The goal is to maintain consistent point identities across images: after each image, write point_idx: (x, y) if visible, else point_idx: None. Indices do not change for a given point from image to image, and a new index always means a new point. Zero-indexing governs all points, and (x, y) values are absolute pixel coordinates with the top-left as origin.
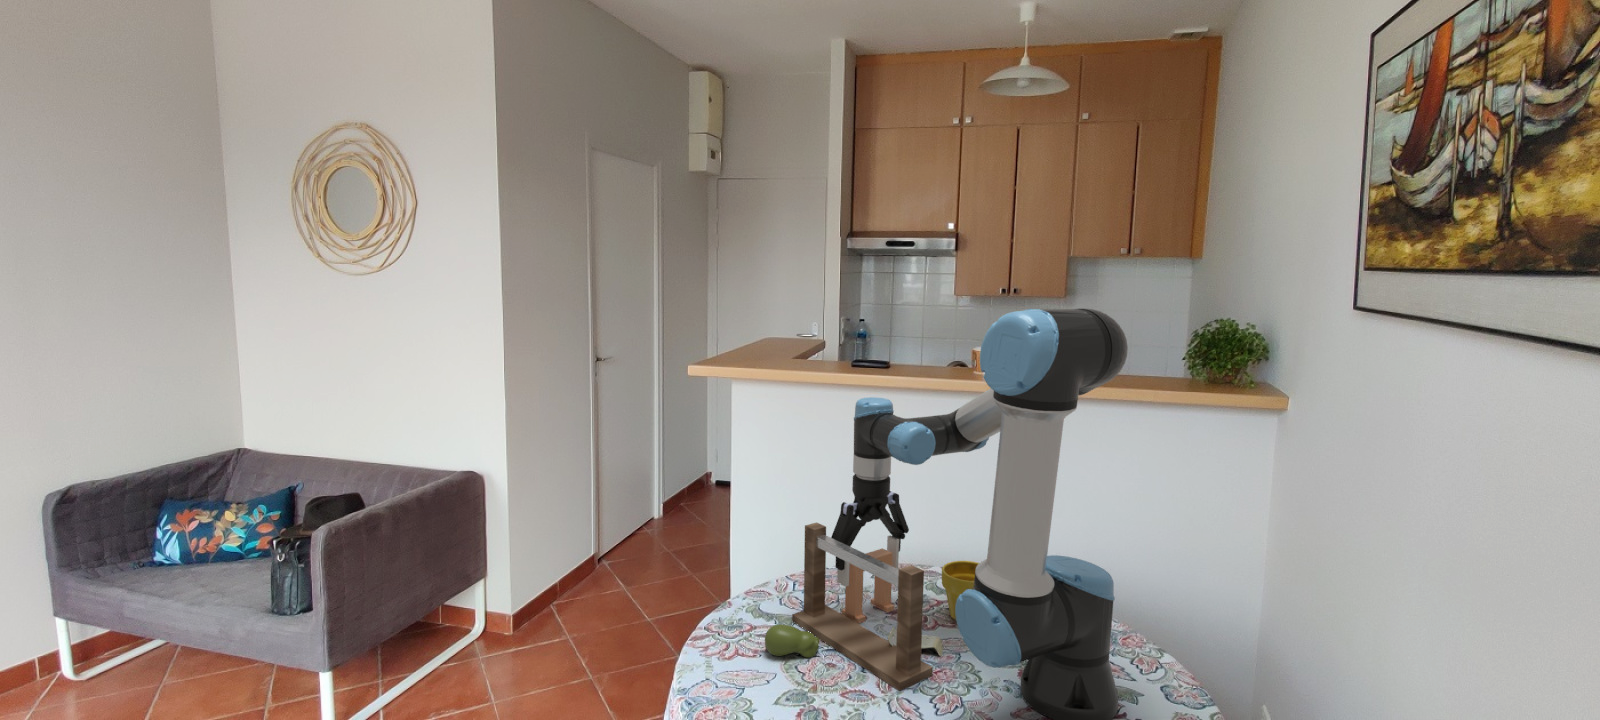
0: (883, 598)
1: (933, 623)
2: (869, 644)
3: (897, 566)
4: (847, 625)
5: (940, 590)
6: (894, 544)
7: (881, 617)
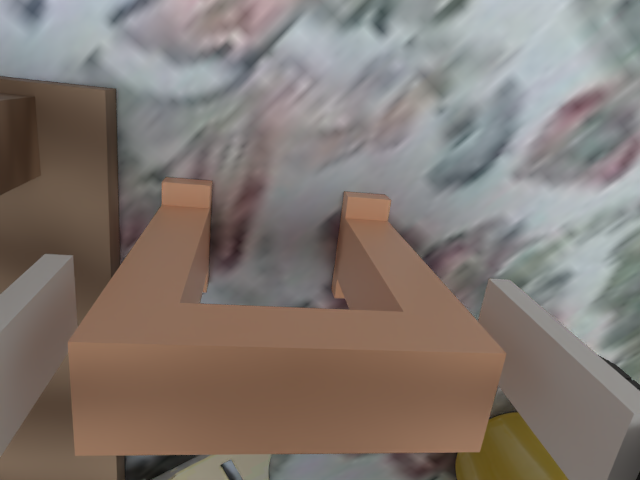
0: (343, 289)
1: None
2: (38, 463)
3: None
4: None
5: (633, 291)
6: (568, 454)
7: (283, 300)
